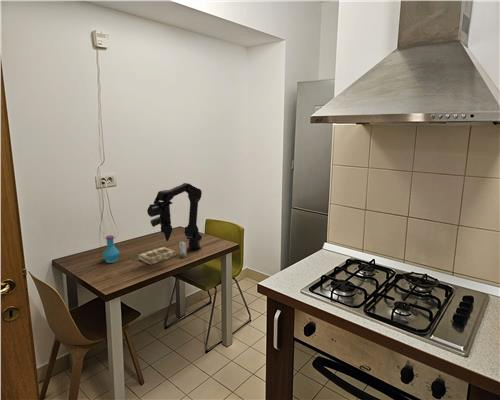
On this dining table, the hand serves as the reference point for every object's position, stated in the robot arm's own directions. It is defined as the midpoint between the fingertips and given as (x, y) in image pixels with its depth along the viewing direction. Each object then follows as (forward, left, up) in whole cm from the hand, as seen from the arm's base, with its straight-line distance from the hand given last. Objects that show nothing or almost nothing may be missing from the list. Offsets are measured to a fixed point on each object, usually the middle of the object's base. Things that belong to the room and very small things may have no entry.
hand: (166, 238), depth 203 cm
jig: (+2, -7, -13) cm, 15 cm away
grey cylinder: (-9, +3, -13) cm, 16 cm away
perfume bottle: (+22, -24, -13) cm, 35 cm away
